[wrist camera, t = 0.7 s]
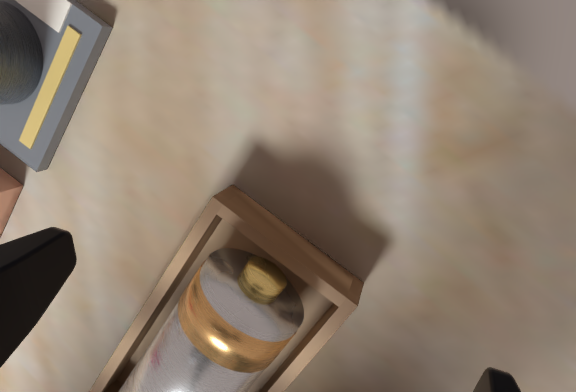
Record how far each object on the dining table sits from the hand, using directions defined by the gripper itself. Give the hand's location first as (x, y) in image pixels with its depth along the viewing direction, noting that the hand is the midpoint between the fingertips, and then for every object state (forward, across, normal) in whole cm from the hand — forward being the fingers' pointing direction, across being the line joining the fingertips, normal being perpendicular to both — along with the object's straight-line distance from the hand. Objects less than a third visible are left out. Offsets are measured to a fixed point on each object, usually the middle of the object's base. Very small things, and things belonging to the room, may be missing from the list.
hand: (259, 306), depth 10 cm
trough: (+10, +5, +14) cm, 18 cm away
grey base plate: (+13, +19, +2) cm, 24 cm away
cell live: (+9, +5, +14) cm, 18 cm away
